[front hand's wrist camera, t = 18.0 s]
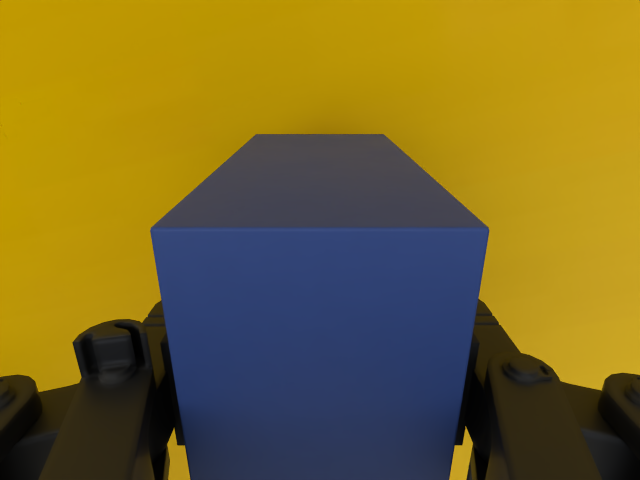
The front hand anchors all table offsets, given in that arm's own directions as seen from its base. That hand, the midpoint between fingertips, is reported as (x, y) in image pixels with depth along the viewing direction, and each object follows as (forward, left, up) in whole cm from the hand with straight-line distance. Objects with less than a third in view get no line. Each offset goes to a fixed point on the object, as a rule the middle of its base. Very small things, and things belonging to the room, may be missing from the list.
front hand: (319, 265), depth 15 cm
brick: (0, 0, -3) cm, 3 cm away
